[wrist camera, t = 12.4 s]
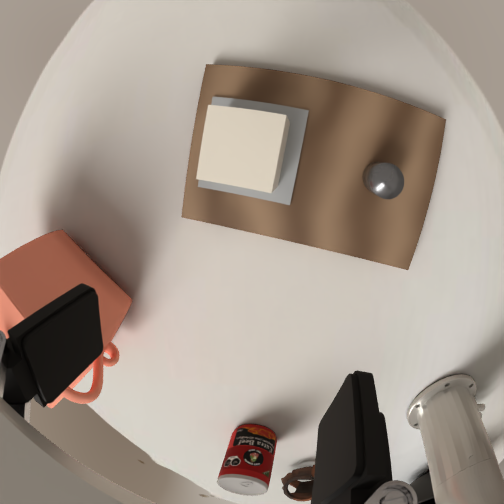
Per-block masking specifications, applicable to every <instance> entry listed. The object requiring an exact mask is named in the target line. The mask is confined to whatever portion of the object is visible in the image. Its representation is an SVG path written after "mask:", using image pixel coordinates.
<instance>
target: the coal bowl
mask: <svg viewBox="0 0 504 504" xmlns="http://www.w3.org/2000/svg"><path fill="white" fill-rule="evenodd" d="M410 486H411V487H412V488H413V489H414V491H415V492H416V495H417V504H436V503H435V499H434V493H433V488H432V482H431V476H430V472H429V473H426V474H424V475H422V476H421V477H419V478H418V479H416V480H415V481H414V482H412V483H411V484H410Z"/></svg>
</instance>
